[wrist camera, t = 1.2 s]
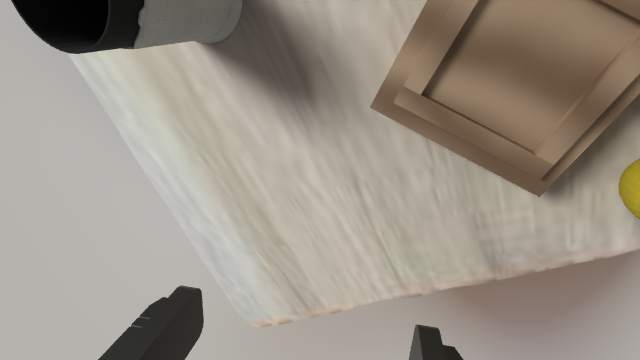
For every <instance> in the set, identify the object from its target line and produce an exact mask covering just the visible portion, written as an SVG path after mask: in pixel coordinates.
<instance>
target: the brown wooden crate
mask: <svg viewBox="0 0 640 360" xmlns="http://www.w3.org/2000/svg"><path fill="white" fill-rule="evenodd" d="M639 94H640V0H427V2H426V4H425V6H424V8H423V10H422V11H421V13H420V15H419V17H418V19H417V21H416V23H415V24H414V26H413V28H412V30H411V32H410V34H409V36H408V37H407V39H406V41H405V43H404V45H403V47H402V49H401V50H400V52H399V54H398V56H397V58H396V60H395V62H394V64H393V65H392V67H391V69H390V71H389V73H388V75H387V77H386V78H385V80H384V82H383V84H382V86H381V88H380V90H379V91H378V93H377V95H376V97H375V99H374V101H373V103H372V105H371V106H370V108H372V109H374V110H376V111H377V112H379V113H381V114H383V115H385V116H387V117H389V118H391V119H393V120H395V121H396V122H398V123H400V124H402V125H404V126H406V127H408V128H410V129H412V130H414V131H415V132H417V133H419V134H421V135H423V136H425V137H427V138H429V139H431V140H432V141H434V142H436V143H438V144H440V145H442V146H444V147H446V148H448V149H450V150H451V151H453V152H455V153H457V154H459V155H461V156H463V157H465V158H467V159H468V160H470V161H472V162H474V163H476V164H478V165H480V166H482V167H484V168H486V169H487V170H489V171H491V172H493V173H495V174H497V175H499V176H501V177H503V178H504V179H506V180H508V181H510V182H512V183H514V184H516V185H518V186H520V187H522V188H523V189H525V190H527V191H529V192H531V193H533V194H535V195H537V196H539V197H540V196H541V195H542V194H543V193H544V192H545V191H546V190H547V189H548V188H549V187H550V186H551V185H552V184H553V183H554V182H555V180H556V179H557V178H558V177H559V176H560V175H561V174H562V173H563V172H564V171H565V170H566V169H567V168H568V167H569V166H570V165H571V164H572V163H573V162H574V161H575V160H576V159H577V158H578V157H579V156H580V155H581V154H582V153H583V152H584V151H585V150H586V149H587V147H588V146H589V145H590V144H591V143H592V142H593V141H594V140H595V139H596V138H597V137H598V136H599V135H600V134H601V133H602V132H603V131H604V130H605V129H606V128H607V127H608V126H609V125H610V124H611V123H612V122H613V121H614V120H615V119H616V118H617V117H618V116H619V114H620V113H621V112H622V111H623V110H624V109H625V108H626V107H627V106H628V105H629V104H630V103H631V102H632V101H633V100H634V99H635V98H636V97H637V96H638V95H639Z"/></svg>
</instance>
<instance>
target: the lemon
mask: <svg viewBox="0 0 640 360" xmlns="http://www.w3.org/2000/svg"><path fill="white" fill-rule="evenodd" d="M619 193H620V197H621V198H622V200H623V202H624V204H625V206H626V207H627V208H628V209H629V210H630V211H631V212H632V213H633V214H634V215H635V216H636V217H637V218H639V219H640V159H638V160H636V161H635V162H633V163H632V164H631V165H629V166H628V167H627V168H626V169H625V171H624V172H623V174H622V176H621V178H620V182H619Z"/></svg>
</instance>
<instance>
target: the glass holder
mask: <svg viewBox="0 0 640 360" xmlns="http://www.w3.org/2000/svg"><path fill="white" fill-rule="evenodd" d="M11 1H12V3H13V4H14V6H15V8H16V9H17V11H18V13H19V14H20V16H21V17H22V19H23V20H24V21H25V22H26V24H27V25H28V26H29V27H30V28H31V30H32V31H33V32H34V33H35V34H36V35H37V36H39V37H40V38H41V39H42V40H43V41H45V42H46V43H48V44H49V45H50V46H52V47H54V48H56V49H59V50H60V51H64V52H67V53H73V54H80V53H88V52H96V51H103V50H111V49H118V48H123V49H138V48H145V47H153V46H160V45H167V44H174V43H181V42H188V41H196V42H200V43H208V44H210V43H216V42H219V41H222V40H223V39H225V38H226V37H228V36H229V35H230V34H231V33H232V32H233V30H234V29H235V27H236V26H237V24H238V22H239V19H240V16H241V12H242V5H243V0H11Z"/></svg>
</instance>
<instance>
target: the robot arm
mask: <svg viewBox="0 0 640 360" xmlns="http://www.w3.org/2000/svg"><path fill="white" fill-rule="evenodd" d="M203 322H204V321H203V306H202V293H201V290H200V289H199V288H193V287H186V286H179V287H178V288H177V289H176V290H175V291H174V292H173V293H172V294H171V295H170V296H169V297H168V298H165V297H163V298H161V299H160V300H158V301H156V302H154V303H153V304H151V305H149V307H148V308H147V309H146V310H145V311H144V312H143V313H142V314H141V315H140V317H139V318H137V319H136V320H135V321H134V322H133V323H132V325H131V327H129V328H128V329H127V330H126V331H125V332H124V333H123V334H122V335H121V336H120V337H119V338H118V339H117V340H116V341H115V342H114V344H113V345H112V346H111V347H110V348H109V349H108V350H107V351H106V352H105V353H104V354H103V355H102V356H101V357H100V358H99V359H98V360H185V358H186V357H187V355H188V354H189V352H190V351H191V349H192V348H193V346H194V345H195V343H196V342H197V340H198V338H199V337H200V334H201V332H202V328H203ZM409 360H463V359H462V357H461V356H460V354H459V353H458V352H457V350H456V349H455V347H452V346H445V345H443V344H442V340H441V335H440V331H439V329H438V328H435V327H429V326H423V325H416V326H415V330H414V336H413V341H412V346H411V351H410V357H409Z"/></svg>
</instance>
